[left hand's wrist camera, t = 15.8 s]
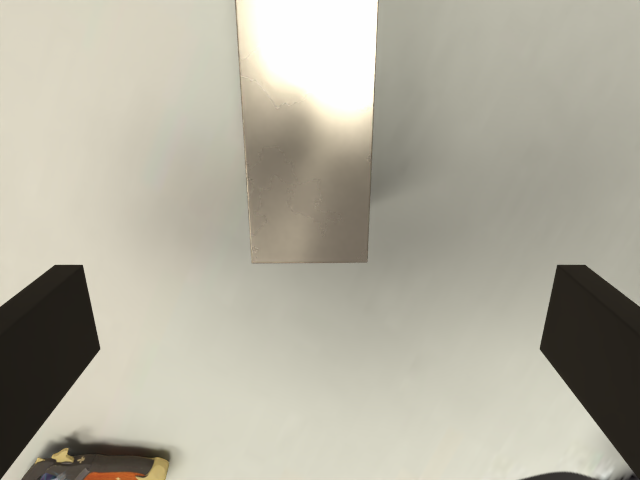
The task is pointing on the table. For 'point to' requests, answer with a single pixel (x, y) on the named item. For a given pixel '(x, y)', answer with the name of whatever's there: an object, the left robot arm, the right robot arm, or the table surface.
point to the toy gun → (97, 467)
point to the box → (308, 126)
